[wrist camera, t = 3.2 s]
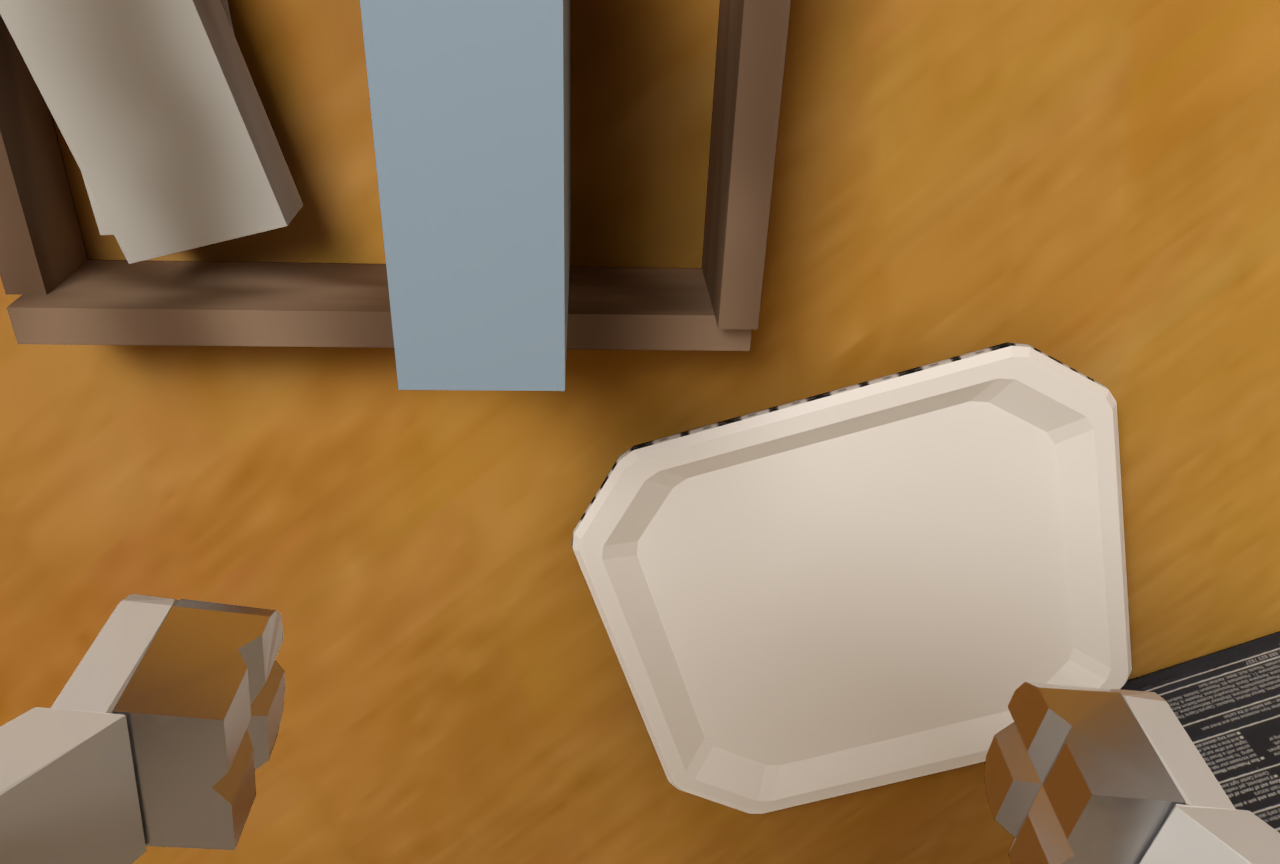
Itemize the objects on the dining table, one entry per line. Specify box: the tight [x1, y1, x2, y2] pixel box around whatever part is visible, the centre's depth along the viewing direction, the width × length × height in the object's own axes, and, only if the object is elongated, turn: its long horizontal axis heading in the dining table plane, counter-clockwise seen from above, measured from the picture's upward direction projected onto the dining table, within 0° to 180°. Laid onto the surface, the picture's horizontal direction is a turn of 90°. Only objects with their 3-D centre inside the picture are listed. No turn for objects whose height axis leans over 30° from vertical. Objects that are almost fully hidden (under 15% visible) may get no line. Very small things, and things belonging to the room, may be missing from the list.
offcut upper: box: [0, 0, 303, 264], centre depth 28 cm, size 5×11×2 cm, turn 13°
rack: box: [0, 0, 791, 351], centre depth 28 cm, size 23×16×5 cm
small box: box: [1121, 632, 1280, 833], centre depth 42 cm, size 11×6×10 cm, turn 113°
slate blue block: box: [360, 0, 571, 391], centre depth 26 cm, size 4×12×11 cm, turn 178°
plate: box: [572, 343, 1132, 814], centre depth 42 cm, size 21×21×2 cm
